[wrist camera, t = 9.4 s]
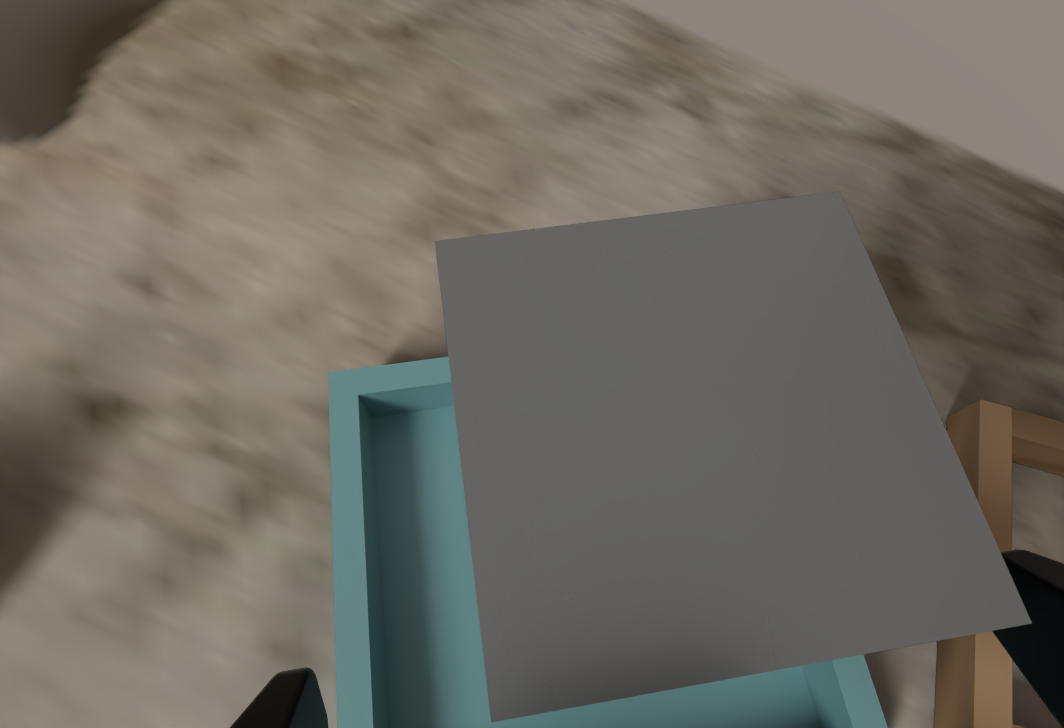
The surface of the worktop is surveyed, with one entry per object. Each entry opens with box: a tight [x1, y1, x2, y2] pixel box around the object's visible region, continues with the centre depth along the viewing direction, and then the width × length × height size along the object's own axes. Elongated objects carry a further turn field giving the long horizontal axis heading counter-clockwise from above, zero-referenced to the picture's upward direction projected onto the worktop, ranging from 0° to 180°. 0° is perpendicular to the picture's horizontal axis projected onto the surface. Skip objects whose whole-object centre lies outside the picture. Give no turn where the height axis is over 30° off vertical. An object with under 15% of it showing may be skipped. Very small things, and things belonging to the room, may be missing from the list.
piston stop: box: [435, 192, 1032, 723], centre depth 12 cm, size 6×6×13 cm
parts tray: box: [328, 357, 888, 728], centre depth 17 cm, size 12×12×2 cm
